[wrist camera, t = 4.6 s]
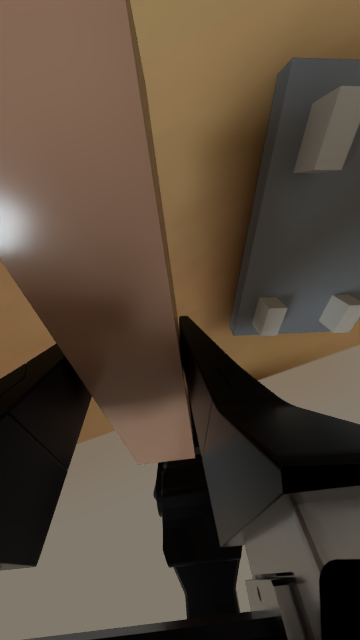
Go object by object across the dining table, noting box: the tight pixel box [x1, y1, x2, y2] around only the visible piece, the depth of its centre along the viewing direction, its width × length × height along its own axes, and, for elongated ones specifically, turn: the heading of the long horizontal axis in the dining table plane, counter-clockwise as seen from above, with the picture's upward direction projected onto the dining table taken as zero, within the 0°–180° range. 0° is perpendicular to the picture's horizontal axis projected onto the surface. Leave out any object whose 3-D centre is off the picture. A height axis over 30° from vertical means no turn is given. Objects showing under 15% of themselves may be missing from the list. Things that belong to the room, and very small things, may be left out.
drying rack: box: [230, 58, 360, 336], centre depth 14 cm, size 18×12×4 cm, turn 0°
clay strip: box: [0, 0, 195, 465], centre depth 8 cm, size 16×4×4 cm, turn 6°
